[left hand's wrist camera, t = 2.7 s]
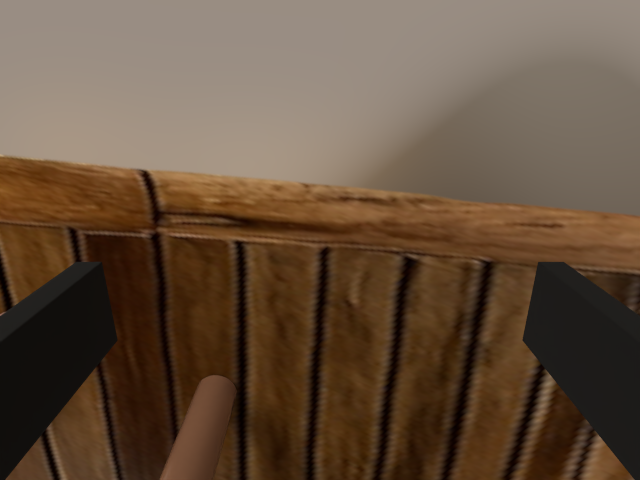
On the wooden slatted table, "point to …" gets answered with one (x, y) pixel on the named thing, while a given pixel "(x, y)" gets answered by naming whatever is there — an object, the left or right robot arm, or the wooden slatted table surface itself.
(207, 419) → the jar
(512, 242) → the wooden slatted table surface
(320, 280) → the wooden slatted table surface
